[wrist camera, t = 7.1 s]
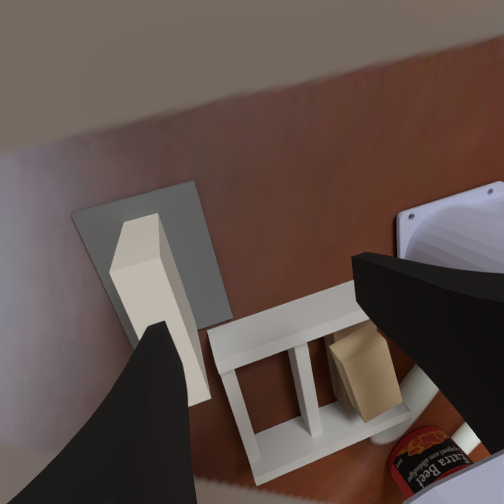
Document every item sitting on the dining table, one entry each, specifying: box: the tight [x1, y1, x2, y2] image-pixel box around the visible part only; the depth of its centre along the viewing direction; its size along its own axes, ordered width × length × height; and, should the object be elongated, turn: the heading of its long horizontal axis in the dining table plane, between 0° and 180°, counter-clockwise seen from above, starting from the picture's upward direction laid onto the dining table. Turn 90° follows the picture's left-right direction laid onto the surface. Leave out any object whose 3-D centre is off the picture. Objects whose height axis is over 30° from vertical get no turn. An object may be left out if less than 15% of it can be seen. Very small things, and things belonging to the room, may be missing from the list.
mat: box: [71, 180, 233, 350], centre depth 21 cm, size 7×10×1 cm
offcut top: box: [329, 324, 403, 423], centre depth 25 cm, size 4×7×2 cm, turn 23°
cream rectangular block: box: [109, 213, 211, 407], centre depth 18 cm, size 2×8×7 cm, turn 12°
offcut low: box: [324, 319, 377, 413], centre depth 27 cm, size 4×9×2 cm, turn 14°
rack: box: [207, 280, 410, 486], centre depth 26 cm, size 14×13×4 cm
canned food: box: [388, 426, 474, 499], centre depth 32 cm, size 8×8×11 cm
